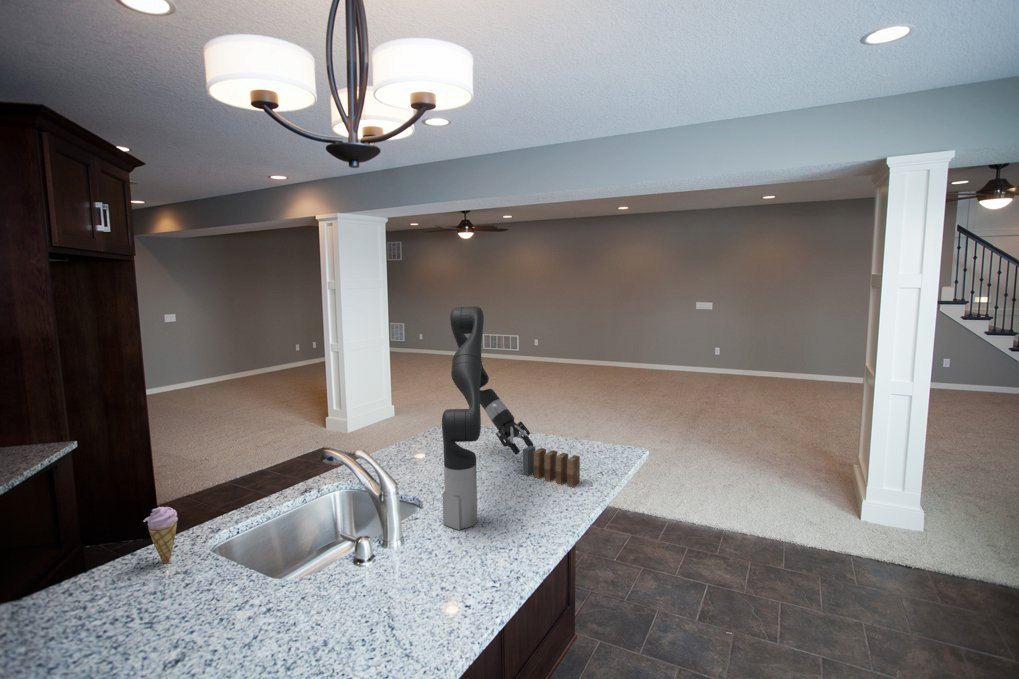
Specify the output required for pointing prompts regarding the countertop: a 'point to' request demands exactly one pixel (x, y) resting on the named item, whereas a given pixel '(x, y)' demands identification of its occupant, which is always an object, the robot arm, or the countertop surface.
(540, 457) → the domino
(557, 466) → the domino
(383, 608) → the countertop surface
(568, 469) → the domino
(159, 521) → the ice cream cone
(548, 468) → the domino
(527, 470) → the domino
